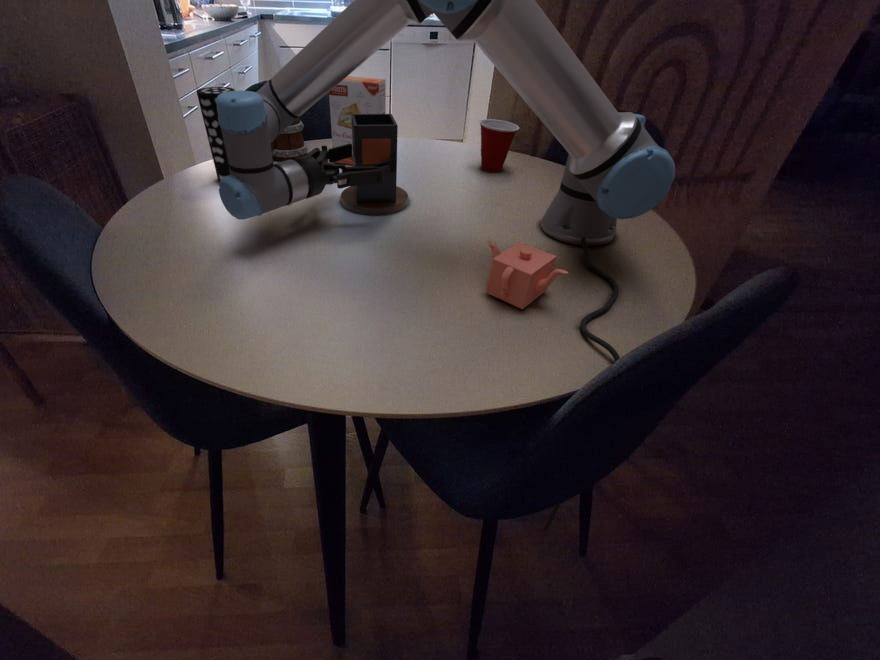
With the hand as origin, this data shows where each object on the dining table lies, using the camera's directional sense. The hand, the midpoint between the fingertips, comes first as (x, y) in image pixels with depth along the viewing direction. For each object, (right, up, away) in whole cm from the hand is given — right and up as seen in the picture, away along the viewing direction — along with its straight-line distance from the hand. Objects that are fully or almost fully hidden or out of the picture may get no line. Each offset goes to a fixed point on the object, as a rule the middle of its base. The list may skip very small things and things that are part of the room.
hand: (372, 156), depth 97 cm
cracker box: (-6, +11, +28) cm, 30 cm away
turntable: (0, -7, +7) cm, 10 cm away
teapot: (+26, -34, -22) cm, 49 cm away
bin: (0, -6, +6) cm, 9 cm away
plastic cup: (+33, +9, +27) cm, 43 cm away
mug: (-28, +14, +30) cm, 43 cm away
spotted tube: (-37, +1, +15) cm, 40 cm away
